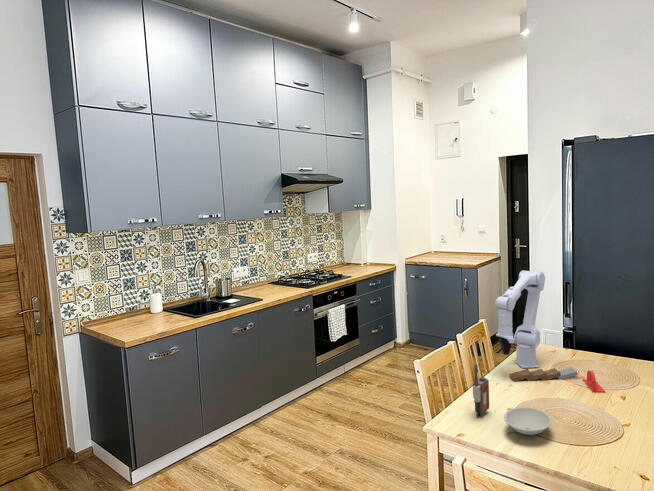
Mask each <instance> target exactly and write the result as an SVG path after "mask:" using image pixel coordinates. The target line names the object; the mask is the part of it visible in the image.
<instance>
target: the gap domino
mask: <svg viewBox="0 0 654 491" xmlns="http://www.w3.org/2000/svg"><path fill="white" fill-rule="evenodd" d="M558 371H559V372H560V374H561V376H559V377H556V379H558V380H559V381H562V380H567V379H566V378H569V377H573V376H576V375H578V373H579V372H578V371H577V370H576V369H574V368H573V367H567V368H563V369H559V370H558Z"/></svg>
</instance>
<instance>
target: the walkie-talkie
mask: <svg viewBox="0 0 654 491" xmlns="http://www.w3.org/2000/svg"><path fill="white" fill-rule="evenodd" d="M473 366H474V367H473V369H474V370H473V372H474V383H472V398H473V399H474V400H473V402H474V413H477V414H476V415H477V417H479V418H481V415H483V414H485V413H486V412H487V411H488V410H489V409H490V386H489V385H490V381H489V379H488V378H486V377H484V376H481V377H479V376H478V365H477V364H474V365H473ZM478 377H479V378H478Z"/></svg>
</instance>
